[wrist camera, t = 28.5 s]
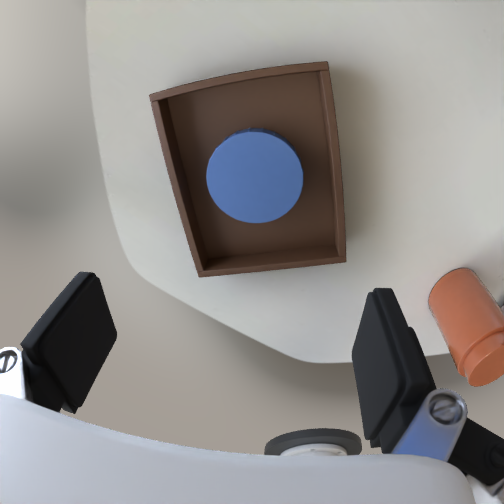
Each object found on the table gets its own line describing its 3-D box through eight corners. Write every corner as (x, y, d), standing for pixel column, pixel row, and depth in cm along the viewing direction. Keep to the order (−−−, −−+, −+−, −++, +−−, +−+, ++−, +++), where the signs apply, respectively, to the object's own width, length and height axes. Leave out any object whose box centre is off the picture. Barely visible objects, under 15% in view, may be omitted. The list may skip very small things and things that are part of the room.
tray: (340, 245, 27) (346, 262, 24) (205, 260, 29) (198, 277, 26) (322, 63, 19) (327, 61, 17) (162, 92, 21) (148, 94, 19)
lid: (209, 127, 22) (203, 131, 20) (304, 128, 21) (306, 132, 20) (212, 212, 25) (208, 222, 24) (299, 215, 25) (301, 226, 23)
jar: (471, 311, 29) (508, 379, 20) (424, 321, 31) (454, 397, 21) (483, 263, 26) (533, 331, 17) (432, 272, 27) (476, 350, 18)
